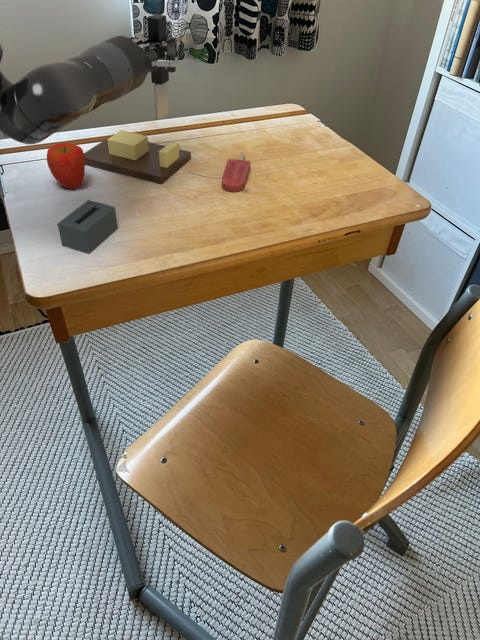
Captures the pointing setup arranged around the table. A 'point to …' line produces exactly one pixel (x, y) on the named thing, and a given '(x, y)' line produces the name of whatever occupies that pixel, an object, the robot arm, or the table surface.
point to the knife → (161, 75)
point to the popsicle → (235, 174)
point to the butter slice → (169, 154)
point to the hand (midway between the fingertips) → (166, 42)
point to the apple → (67, 164)
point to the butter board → (135, 162)
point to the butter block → (128, 145)
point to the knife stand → (88, 226)
